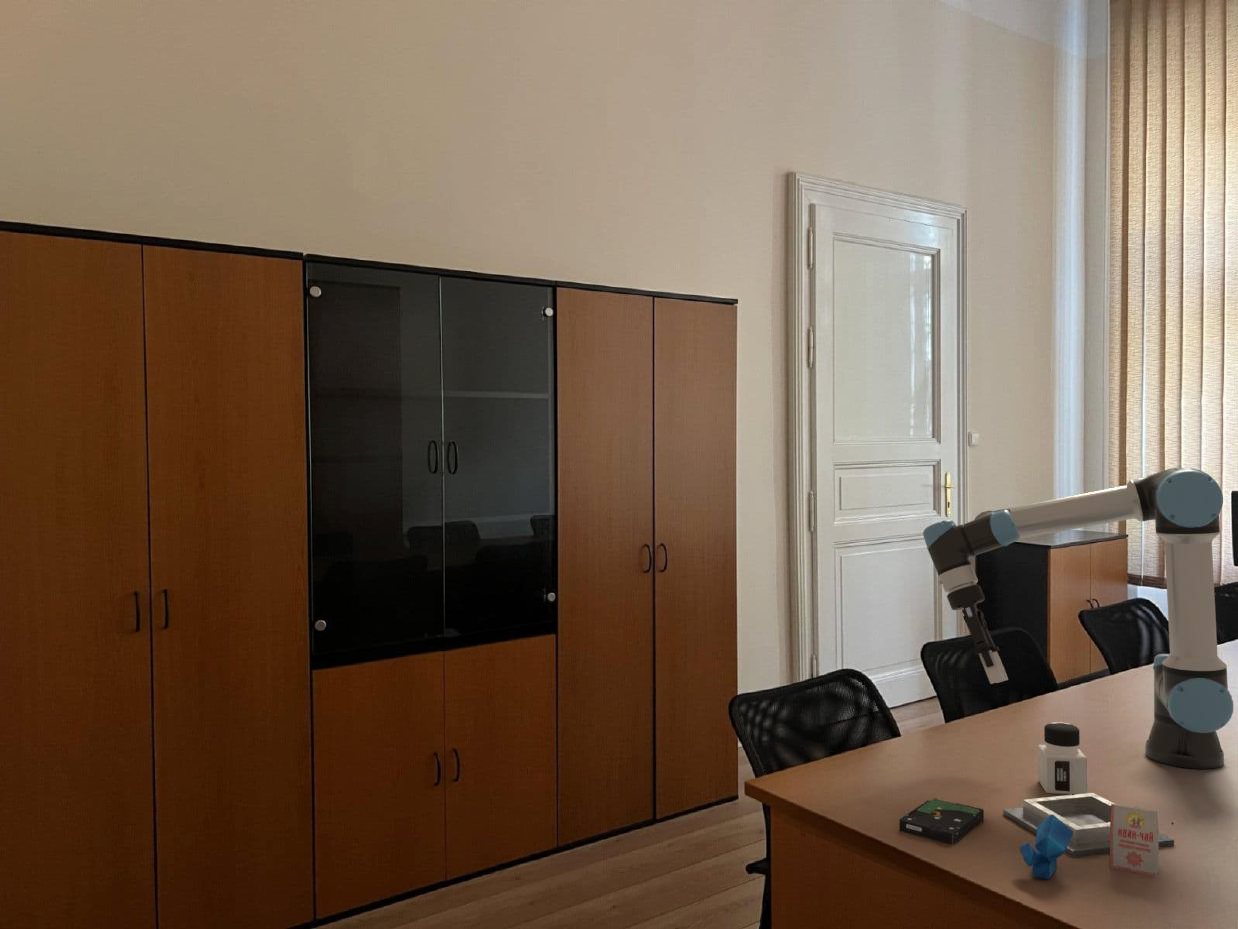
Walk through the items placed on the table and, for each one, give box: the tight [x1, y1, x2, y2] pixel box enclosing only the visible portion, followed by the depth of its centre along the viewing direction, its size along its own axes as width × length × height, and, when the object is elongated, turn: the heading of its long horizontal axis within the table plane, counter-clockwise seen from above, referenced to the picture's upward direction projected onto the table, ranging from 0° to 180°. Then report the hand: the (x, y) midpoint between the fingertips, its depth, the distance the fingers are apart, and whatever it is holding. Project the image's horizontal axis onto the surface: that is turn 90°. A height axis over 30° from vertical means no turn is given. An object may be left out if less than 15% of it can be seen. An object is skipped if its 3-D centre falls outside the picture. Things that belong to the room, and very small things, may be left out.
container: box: [1037, 721, 1088, 795], centre depth 200 cm, size 8×8×13 cm
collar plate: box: [1002, 792, 1175, 858], centre depth 179 cm, size 20×20×4 cm
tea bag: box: [1109, 803, 1160, 878], centre depth 162 cm, size 4×7×10 cm, turn 56°
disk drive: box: [899, 797, 985, 846], centre depth 182 cm, size 10×3×15 cm
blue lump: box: [1019, 815, 1073, 881], centre depth 161 cm, size 7×9×12 cm
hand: (999, 682), depth 213 cm, fingers open, 13 cm apart
